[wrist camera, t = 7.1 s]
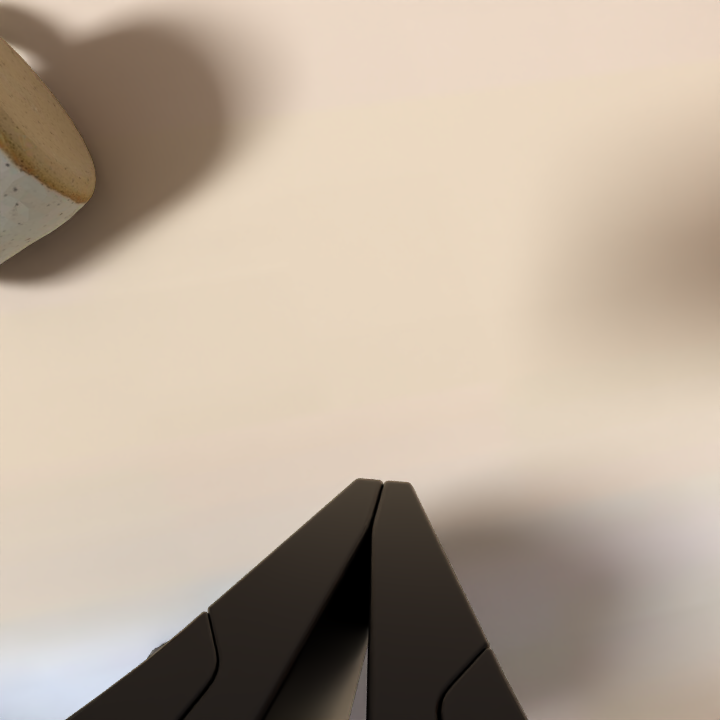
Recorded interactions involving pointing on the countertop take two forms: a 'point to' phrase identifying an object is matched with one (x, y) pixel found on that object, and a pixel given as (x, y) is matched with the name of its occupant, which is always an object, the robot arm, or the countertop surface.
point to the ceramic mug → (36, 158)
